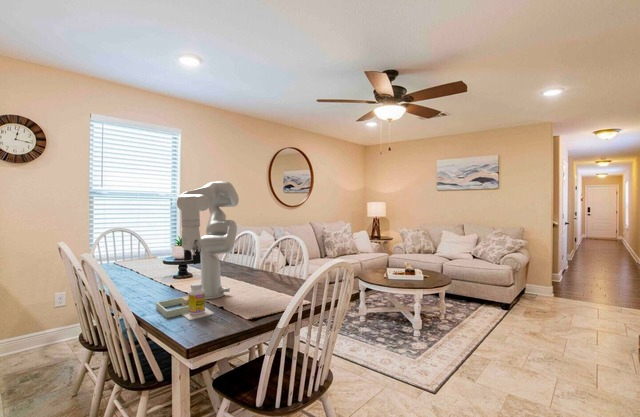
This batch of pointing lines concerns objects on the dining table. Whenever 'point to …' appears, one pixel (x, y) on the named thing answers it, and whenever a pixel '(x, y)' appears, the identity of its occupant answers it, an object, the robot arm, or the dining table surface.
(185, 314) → the mat
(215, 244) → the robot arm
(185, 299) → the birch block
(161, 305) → the tray
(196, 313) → the supplement bottle
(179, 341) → the dining table surface
